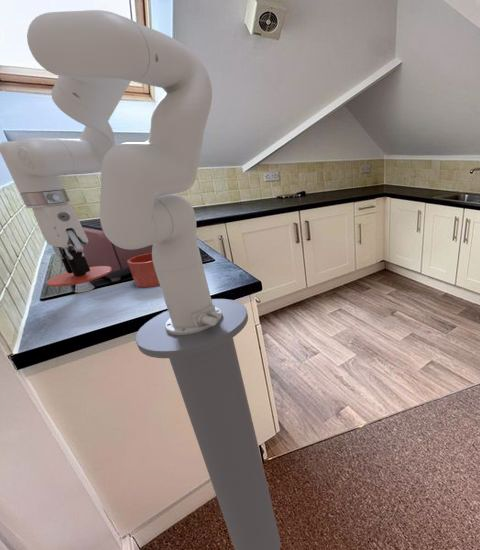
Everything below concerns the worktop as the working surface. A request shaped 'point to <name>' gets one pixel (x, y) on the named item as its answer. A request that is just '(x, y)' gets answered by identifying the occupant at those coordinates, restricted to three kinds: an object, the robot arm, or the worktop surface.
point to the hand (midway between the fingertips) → (79, 271)
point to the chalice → (80, 287)
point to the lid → (79, 276)
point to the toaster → (107, 251)
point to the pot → (143, 270)
